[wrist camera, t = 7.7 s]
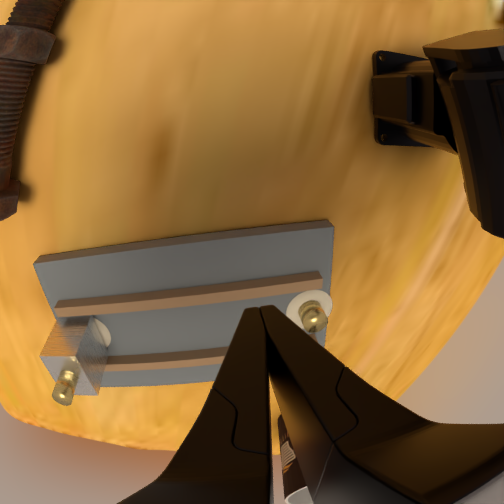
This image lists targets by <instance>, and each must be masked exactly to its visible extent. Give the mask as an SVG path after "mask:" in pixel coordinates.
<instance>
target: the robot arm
mask: <svg viewBox="0 0 504 504" xmlns="http://www.w3.org/2000/svg"><path fill="white" fill-rule="evenodd" d="M422 48H423V50H424V53H425V55H426V57H428V58H429V60H428V59H424V58H420V57H415V56H410V55H405V54H400V53H395V52H389V51H383V50H380V51H376V52H374V54H373V66H374V77H373V79H372V86H373V114H374V116H375V140H376V142H377V143H378V144H381V145H397V146H421V147H435V148H439V149H441V150H444V151H447V152H450V153H453V154H456V155H459V159H460V164H461V169H462V174H463V179H464V189H465V192H466V195H467V201H468V204H469V208H470V211H471V212H472V213H473V215H474V216H475V217H476V218H477V219H478V221H480V222H481V227H482V229H484V230H485V231H487V232H489V233H491V234H492V235H494V236H497V237H500V238H503V239H504V29H494V30H483V31H474V32H470V33H466V34H462V35H459V36H455V37H452V38H448V39H445V40H442V41H438V42H435V43H432V44H429V45H426V46H423V47H422ZM379 55H381V56H382V57H383V60H382V61H381V60H380V58H379ZM382 134H383V135H384V139H383V140H381V136H382ZM269 377H270V381H271V384H272V387H273V390H274V393H275V396H276V399H277V402H278V405H279V408H280V411H281V414H282V417H283V420H284V422H285V425H286V428H287V431H288V434H289V437H290V440H291V443H292V445H293V448H294V451H295V454H296V457H297V460H298V462H299V465H300V468H301V471H302V474H303V476H304V479H305V482H306V485H307V488H308V490H309V493H310V496H311V499H312V501H313V504H504V423H503V424H446V423H437V422H433V421H430V420H427V419H425V418H423V417H421V416H419V415H417V414H416V413H414V412H412V411H411V410H409V409H407V408H406V407H404V406H402V405H401V404H399V403H397V402H396V401H394V400H393V399H391V398H389V397H388V396H386V395H385V394H383V393H381V392H380V391H378V390H377V389H376V388H374V387H373V386H371V385H370V384H368V383H367V382H365V381H364V380H363V379H362V378H360V377H359V376H358V375H356V374H355V373H354V372H353V371H351V370H350V369H349V368H348V367H345V365H344V364H343V363H342V362H340V361H339V360H338V359H337V358H336V357H334V356H333V355H332V354H331V353H330V352H329V351H327V350H326V349H325V348H324V347H323V346H321V345H320V344H319V343H318V342H317V341H315V340H314V339H313V338H312V337H311V336H310V335H308V334H307V333H306V332H305V331H304V330H302V329H301V328H300V327H299V326H298V325H297V324H295V323H294V322H293V321H292V320H291V319H290V318H288V317H287V316H286V315H285V314H284V313H283V312H281V311H280V310H279V309H278V308H277V307H276V306H274V305H265V306H260V308H258V307H250V308H245V309H244V311H243V313H242V316H241V318H240V321H239V323H238V325H237V328H236V330H235V333H234V335H233V338H232V340H231V342H230V345H229V347H228V350H227V352H226V355H225V357H224V359H223V362H222V364H221V367H220V369H219V371H218V374H217V376H216V379H215V381H214V383H213V386H212V389H211V390H210V393H209V395H208V397H207V400H206V402H205V404H204V406H203V408H202V410H201V412H200V414H199V416H198V418H197V420H196V421H195V423H194V425H193V427H192V428H191V430H190V432H189V433H188V435H187V436H186V438H185V439H184V441H183V443H182V444H181V446H180V447H179V449H178V450H177V452H176V454H175V455H174V457H173V458H172V460H171V461H170V463H169V464H168V466H167V467H166V469H165V470H164V471H163V472H162V474H161V475H160V476H159V477H158V478H157V479H156V480H154V481H153V482H152V483H150V484H149V485H147V486H146V487H144V488H142V489H141V490H139V491H138V492H136V493H134V494H132V495H131V496H129V497H127V498H126V499H124V500H122V501H121V502H119V503H117V504H274V497H273V467H272V438H271V411H270V387H269Z"/></svg>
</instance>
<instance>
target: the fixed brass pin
mask: <svg viewBox="0 0 504 504" xmlns="http://www.w3.org/2000/svg"><path fill="white" fill-rule="evenodd" d="M298 314H299V317H300V319H301V322H302V324H303V327H304V329H305V330H306V331H307V332H309V333H316V332H319V331H321V330H322V329H324V328H325V327H326V325H327V323H328V318H327V316H326V314H325V312H324V310H323V308H322V306H321V304H320V303H319V302H317V301H308V302H305V303H304V304H302V305H301V306H300V308H299V310H298Z"/></svg>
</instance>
